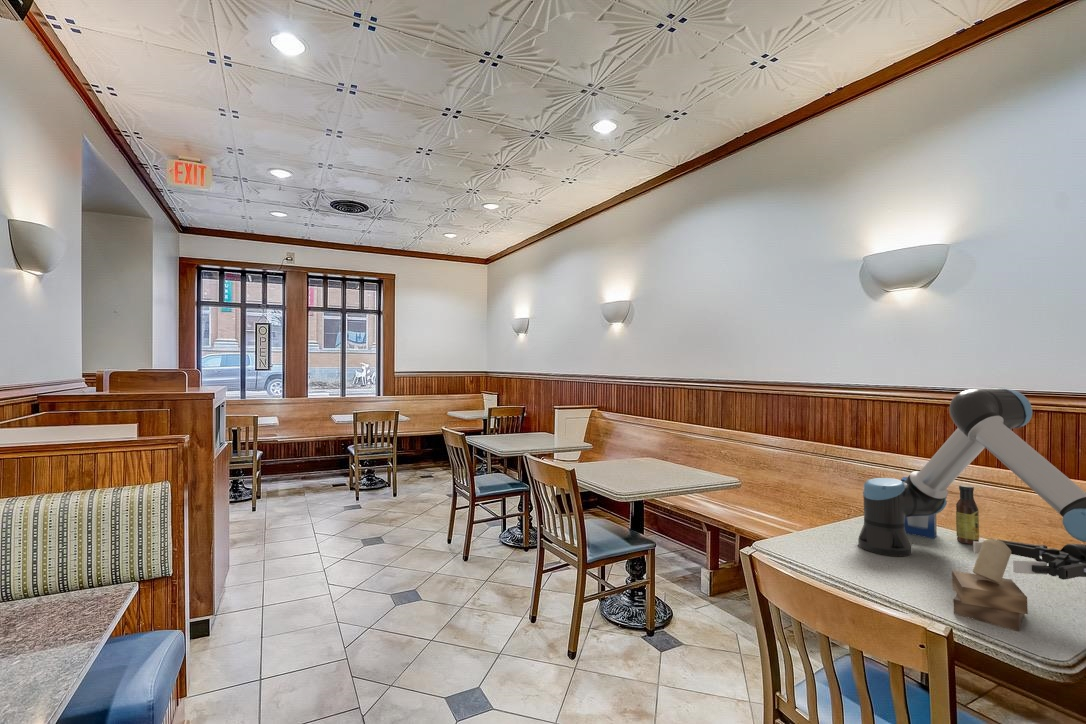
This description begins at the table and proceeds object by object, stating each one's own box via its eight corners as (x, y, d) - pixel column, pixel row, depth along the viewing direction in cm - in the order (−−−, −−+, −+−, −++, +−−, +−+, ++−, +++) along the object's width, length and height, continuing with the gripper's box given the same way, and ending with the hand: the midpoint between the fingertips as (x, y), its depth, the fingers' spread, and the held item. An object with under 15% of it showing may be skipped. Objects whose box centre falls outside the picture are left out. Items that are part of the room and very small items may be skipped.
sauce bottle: (981, 546, 176) (980, 489, 177) (958, 543, 180) (957, 486, 180) (977, 541, 182) (976, 485, 182) (955, 538, 185) (954, 483, 186)
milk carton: (936, 534, 189) (936, 480, 190) (934, 538, 185) (933, 483, 185) (904, 528, 196) (903, 476, 197) (901, 532, 192) (900, 479, 192)
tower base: (953, 615, 128) (953, 599, 128) (962, 600, 136) (962, 585, 136) (1018, 633, 119) (1018, 615, 119) (1023, 616, 127) (1023, 600, 127)
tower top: (962, 603, 125) (962, 586, 126) (952, 585, 136) (951, 570, 136) (1027, 614, 120) (1027, 597, 120) (1011, 595, 130) (1011, 579, 130)
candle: (1003, 584, 124) (1016, 546, 125) (975, 572, 127) (988, 535, 128) (996, 583, 129) (1009, 546, 130) (969, 571, 132) (982, 535, 133)
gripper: (1143, 599, 111) (1034, 593, 114) (1047, 557, 136) (960, 553, 139) (1142, 564, 111) (1033, 559, 114) (1047, 529, 136) (959, 526, 139)
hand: (993, 556), depth 127 cm, fingers open, 13 cm apart
